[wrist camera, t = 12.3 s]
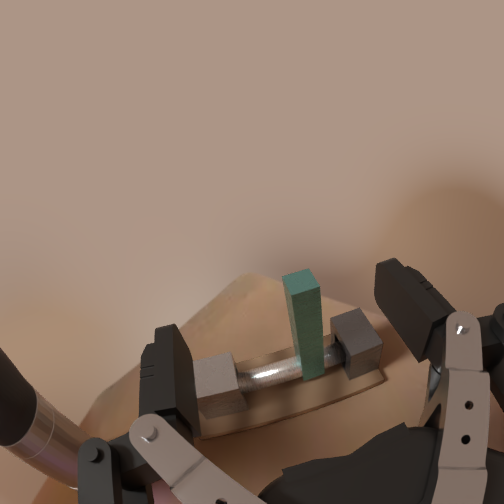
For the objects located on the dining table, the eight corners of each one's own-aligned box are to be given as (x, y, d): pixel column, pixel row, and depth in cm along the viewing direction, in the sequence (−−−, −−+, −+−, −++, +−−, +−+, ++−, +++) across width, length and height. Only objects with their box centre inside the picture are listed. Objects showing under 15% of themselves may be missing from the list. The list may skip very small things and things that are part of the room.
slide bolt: (231, 401, 37) (191, 323, 29) (228, 383, 40) (189, 302, 31) (364, 358, 39) (372, 268, 30) (355, 342, 41) (358, 252, 33)
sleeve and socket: (206, 422, 36) (191, 402, 33) (201, 382, 42) (187, 359, 39) (378, 368, 38) (383, 342, 34) (357, 334, 44) (359, 307, 40)
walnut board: (200, 439, 35) (197, 437, 34) (193, 377, 44) (190, 374, 44) (383, 382, 37) (384, 379, 36) (352, 330, 46) (352, 326, 45)
